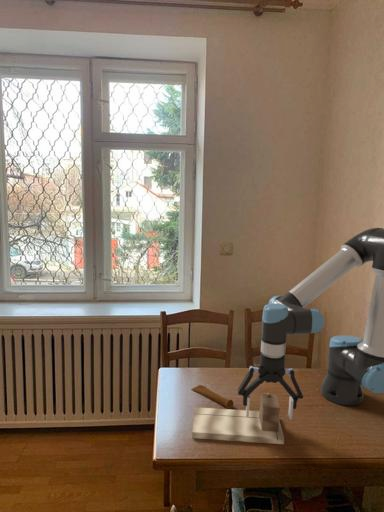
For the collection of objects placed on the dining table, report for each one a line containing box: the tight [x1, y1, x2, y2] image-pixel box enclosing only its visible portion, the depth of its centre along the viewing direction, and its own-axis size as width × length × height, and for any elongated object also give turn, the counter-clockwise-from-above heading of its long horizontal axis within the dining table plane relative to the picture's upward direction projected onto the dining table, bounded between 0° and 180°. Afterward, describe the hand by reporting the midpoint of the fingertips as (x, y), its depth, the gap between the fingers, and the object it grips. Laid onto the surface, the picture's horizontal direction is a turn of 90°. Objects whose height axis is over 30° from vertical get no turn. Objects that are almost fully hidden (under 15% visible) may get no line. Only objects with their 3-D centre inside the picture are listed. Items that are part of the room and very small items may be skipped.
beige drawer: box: [258, 392, 281, 432], centre depth 123 cm, size 5×8×9 cm, turn 176°
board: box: [191, 406, 285, 445], centre depth 124 cm, size 28×14×2 cm, turn 86°
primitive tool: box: [190, 384, 235, 409], centre depth 142 cm, size 19×6×4 cm, turn 43°
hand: (268, 416), depth 123 cm, fingers open, 13 cm apart
